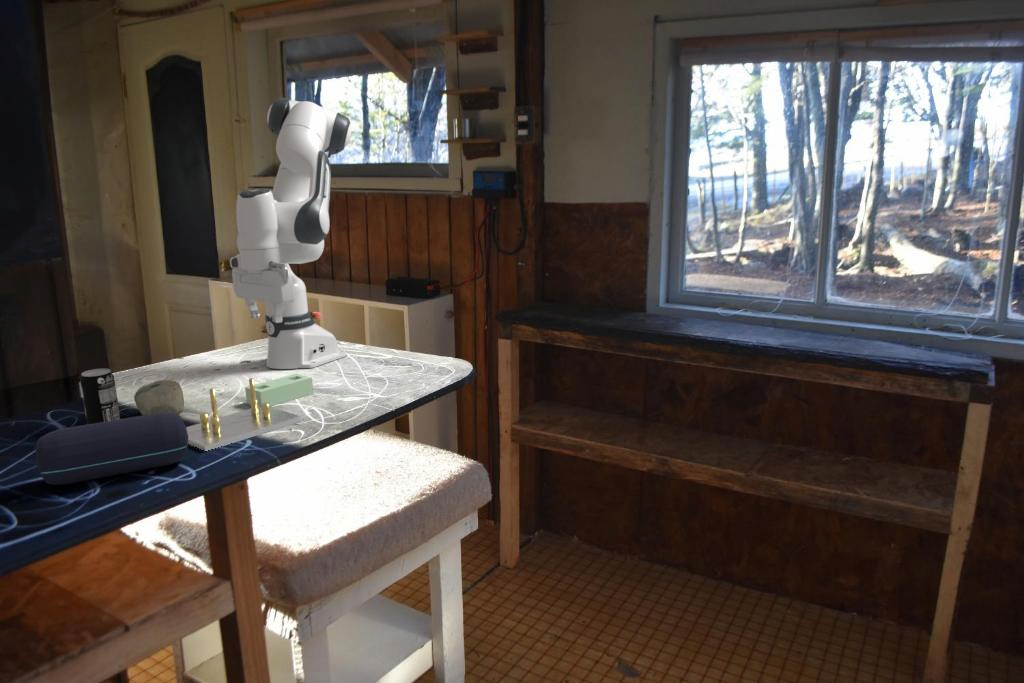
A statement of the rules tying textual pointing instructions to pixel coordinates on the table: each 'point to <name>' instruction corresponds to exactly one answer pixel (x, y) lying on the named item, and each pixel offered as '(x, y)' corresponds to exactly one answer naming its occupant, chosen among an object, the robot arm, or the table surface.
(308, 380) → the board
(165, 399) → the stone
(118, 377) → the table surface
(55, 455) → the portable speaker
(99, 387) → the beverage can
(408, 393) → the table surface
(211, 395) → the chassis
